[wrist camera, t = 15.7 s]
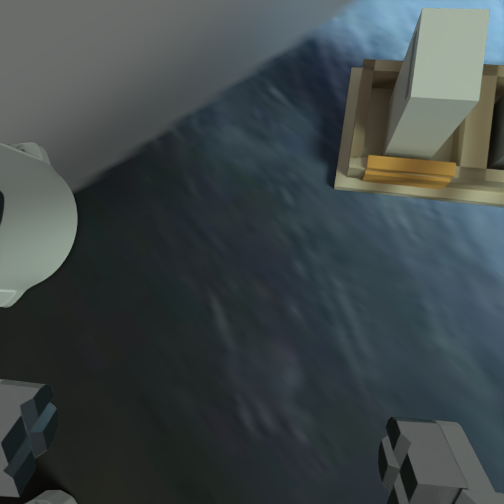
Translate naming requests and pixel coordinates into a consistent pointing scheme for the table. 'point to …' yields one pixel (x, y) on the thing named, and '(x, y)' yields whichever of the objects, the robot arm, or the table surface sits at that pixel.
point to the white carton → (436, 81)
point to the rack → (444, 160)
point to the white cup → (53, 498)
